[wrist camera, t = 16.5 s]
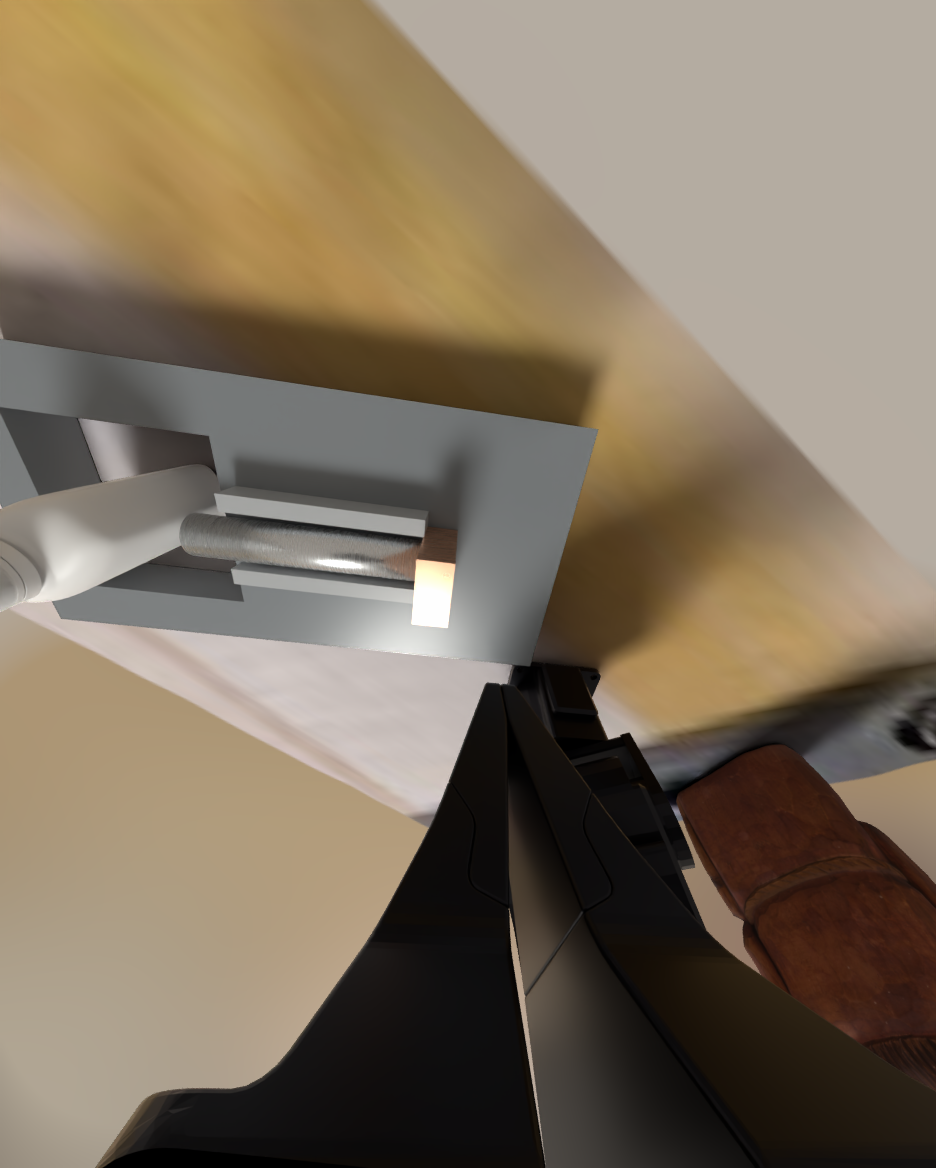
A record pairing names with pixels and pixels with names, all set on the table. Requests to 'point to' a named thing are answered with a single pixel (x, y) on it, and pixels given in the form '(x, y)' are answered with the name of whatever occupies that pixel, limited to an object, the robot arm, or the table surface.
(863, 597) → the table surface
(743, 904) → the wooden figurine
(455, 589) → the dock block
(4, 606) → the eye dropper bottle
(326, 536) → the lock pin
